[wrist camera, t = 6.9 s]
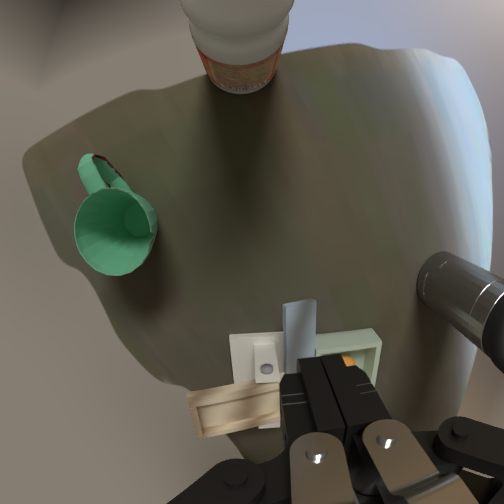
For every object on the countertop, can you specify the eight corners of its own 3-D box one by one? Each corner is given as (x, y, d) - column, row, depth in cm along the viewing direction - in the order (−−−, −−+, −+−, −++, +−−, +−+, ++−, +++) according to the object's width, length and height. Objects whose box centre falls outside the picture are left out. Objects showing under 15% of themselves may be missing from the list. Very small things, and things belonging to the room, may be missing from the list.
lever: (312, 298, 38) (324, 306, 35) (308, 400, 42) (317, 412, 39) (172, 322, 33) (174, 335, 30) (194, 428, 37) (198, 443, 34)
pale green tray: (371, 327, 45) (382, 341, 41) (364, 377, 47) (372, 393, 43) (310, 334, 45) (316, 350, 41) (308, 385, 47) (312, 402, 43)
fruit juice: (245, 109, 37) (241, -10, 10) (191, 70, 36) (116, -61, 9) (290, 62, 36) (349, -77, 9) (237, 25, 34) (227, -125, 7)
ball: (352, 366, 41) (327, 360, 43) (349, 387, 41) (325, 381, 44) (359, 352, 44) (335, 347, 46) (357, 372, 45) (334, 368, 47)
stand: (297, 330, 45) (308, 365, 36) (296, 391, 48) (304, 430, 38) (229, 334, 45) (225, 371, 36) (236, 395, 48) (234, 435, 38)
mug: (186, 236, 41) (168, 254, 31) (128, 265, 42) (98, 289, 32) (140, 140, 38) (109, 131, 28) (85, 175, 39) (46, 178, 29)
